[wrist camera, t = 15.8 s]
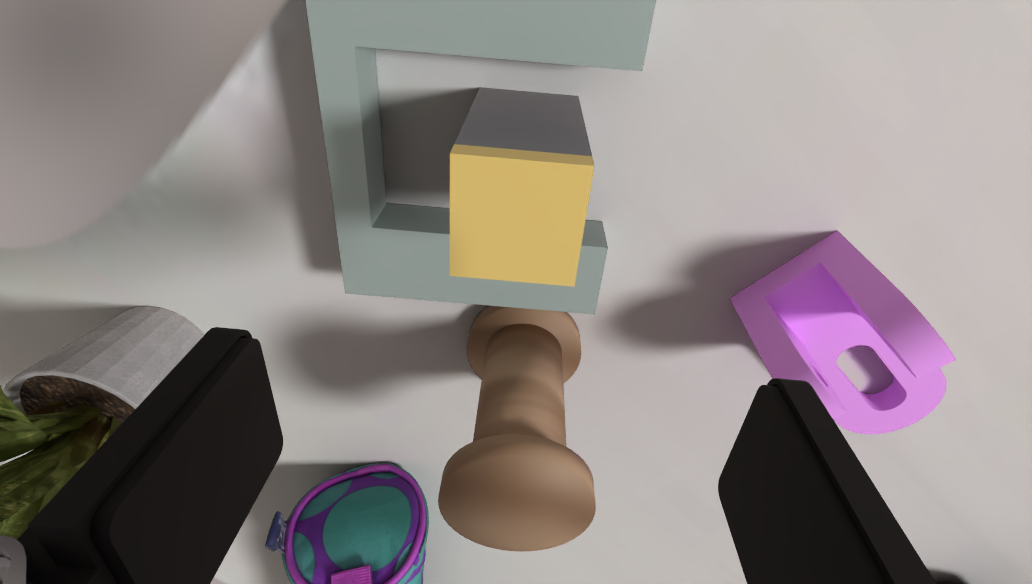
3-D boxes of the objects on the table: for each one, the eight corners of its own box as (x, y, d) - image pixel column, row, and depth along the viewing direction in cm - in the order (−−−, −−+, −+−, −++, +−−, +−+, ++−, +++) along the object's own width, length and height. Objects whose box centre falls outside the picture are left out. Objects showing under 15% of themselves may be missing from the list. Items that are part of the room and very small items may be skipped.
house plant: (363, 363, 30) (211, 718, 16) (237, 463, 35) (46, 789, 22) (120, 186, 24) (-427, 498, 10) (17, 338, 30) (-427, 670, 16)
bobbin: (572, 386, 30) (583, 556, 22) (468, 377, 30) (439, 545, 21) (587, 301, 26) (607, 463, 18) (470, 291, 26) (437, 449, 18)
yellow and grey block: (578, 96, 21) (594, 165, 14) (565, 188, 23) (574, 286, 17) (479, 87, 21) (450, 153, 14) (476, 180, 23) (449, 275, 17)
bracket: (728, 296, 26) (781, 396, 20) (835, 228, 24) (929, 319, 18) (847, 428, 31) (917, 539, 25) (946, 383, 29) (1048, 493, 23)
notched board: (590, 284, 26) (594, 314, 24) (361, 265, 26) (345, 293, 24) (651, -50, 18) (665, -50, 16) (323, -79, 18) (294, -82, 16)
